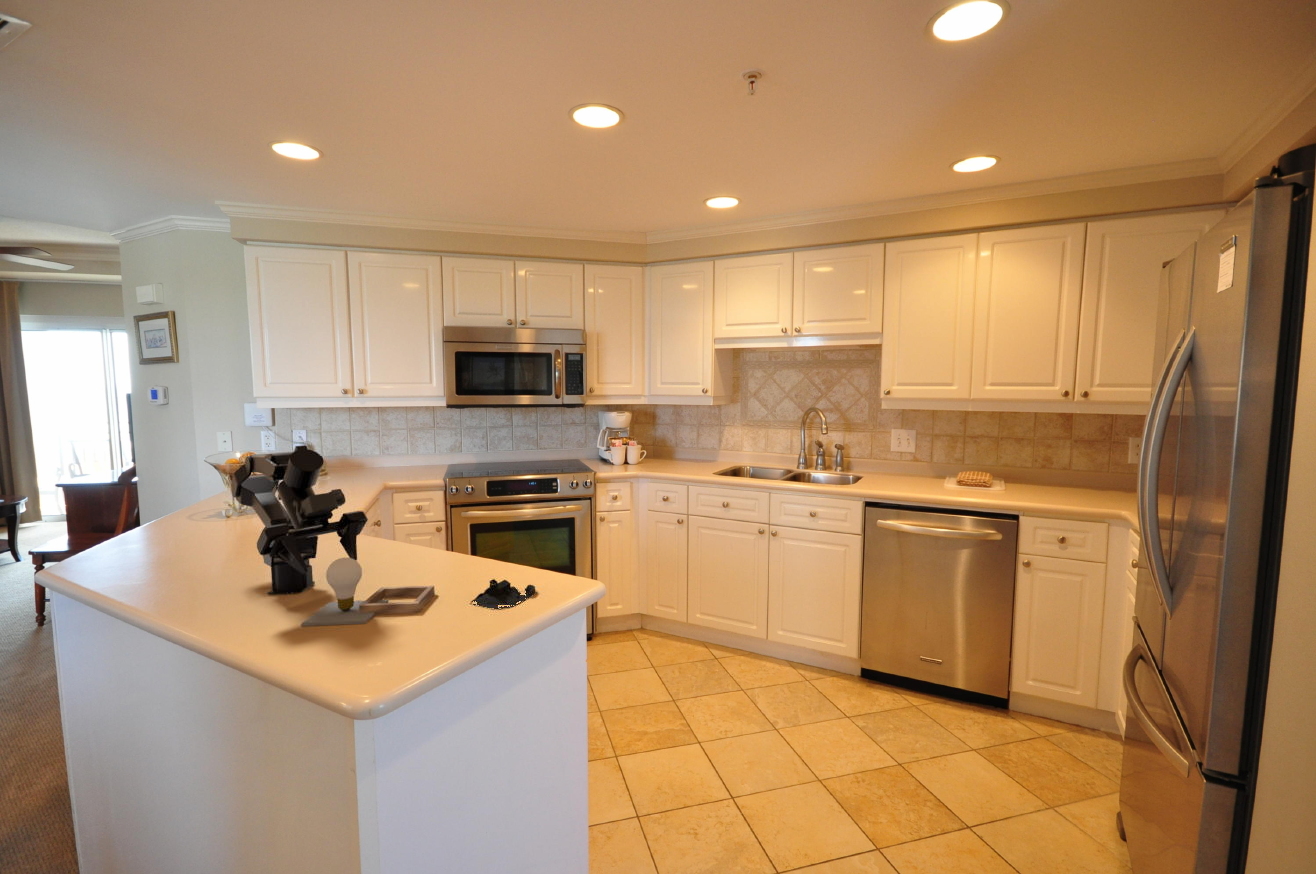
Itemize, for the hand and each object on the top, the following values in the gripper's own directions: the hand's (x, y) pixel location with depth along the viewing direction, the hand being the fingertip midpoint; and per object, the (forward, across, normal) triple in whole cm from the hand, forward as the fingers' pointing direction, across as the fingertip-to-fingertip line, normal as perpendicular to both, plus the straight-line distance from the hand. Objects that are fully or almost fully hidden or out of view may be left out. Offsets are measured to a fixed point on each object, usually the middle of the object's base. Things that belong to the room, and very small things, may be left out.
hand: (331, 566), depth 113 cm
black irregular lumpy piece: (+22, +22, -11) cm, 33 cm away
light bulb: (+9, 0, +2) cm, 9 cm away
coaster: (+9, 0, +2) cm, 10 cm away
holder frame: (+12, +8, -1) cm, 14 cm away
